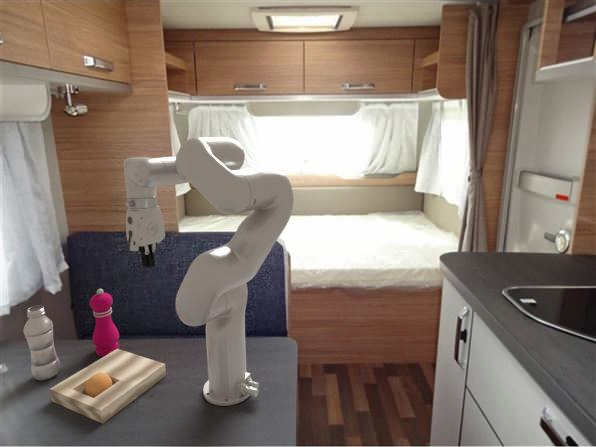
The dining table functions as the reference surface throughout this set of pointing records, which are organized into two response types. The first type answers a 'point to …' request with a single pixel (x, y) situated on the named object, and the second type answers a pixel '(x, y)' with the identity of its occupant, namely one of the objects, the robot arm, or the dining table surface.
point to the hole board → (125, 387)
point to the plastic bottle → (41, 344)
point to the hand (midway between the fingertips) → (148, 266)
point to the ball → (97, 384)
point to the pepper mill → (104, 324)
